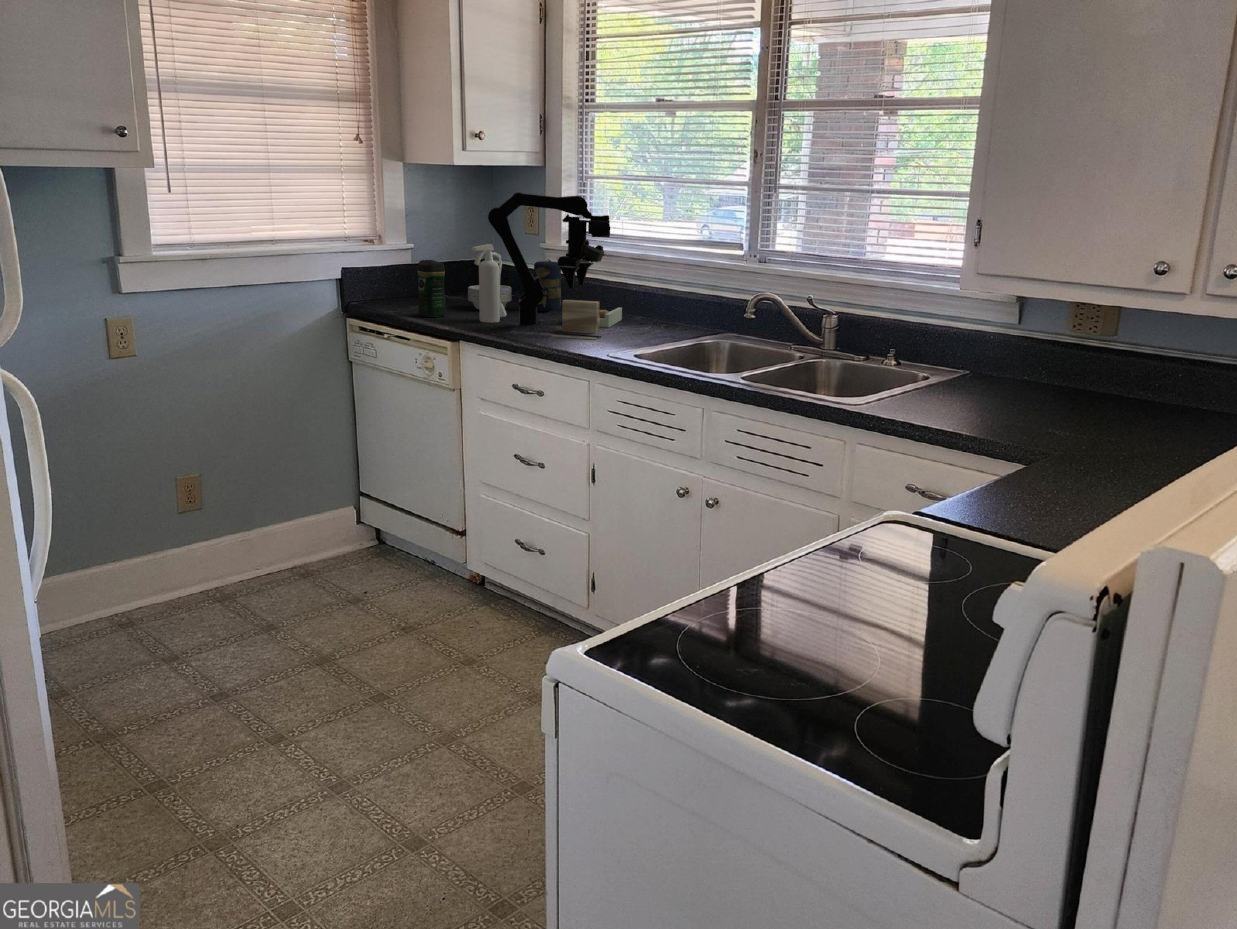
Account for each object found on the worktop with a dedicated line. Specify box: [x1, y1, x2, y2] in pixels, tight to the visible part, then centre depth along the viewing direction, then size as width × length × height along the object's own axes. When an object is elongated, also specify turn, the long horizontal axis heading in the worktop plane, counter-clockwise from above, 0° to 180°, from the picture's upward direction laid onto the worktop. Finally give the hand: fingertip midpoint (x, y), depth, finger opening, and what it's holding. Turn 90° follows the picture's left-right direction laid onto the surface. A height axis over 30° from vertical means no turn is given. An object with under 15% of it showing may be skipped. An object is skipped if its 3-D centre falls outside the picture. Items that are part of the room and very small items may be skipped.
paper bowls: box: [467, 284, 512, 311], centre depth 373 cm, size 15×15×8 cm
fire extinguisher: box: [471, 243, 507, 324], centre depth 345 cm, size 7×12×25 cm, turn 130°
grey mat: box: [551, 332, 603, 341], centre depth 328 cm, size 14×14×1 cm
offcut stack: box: [599, 309, 608, 319], centre depth 341 cm, size 4×11×4 cm, turn 75°
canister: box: [533, 258, 562, 312], centre depth 370 cm, size 10×10×18 cm
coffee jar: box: [416, 259, 447, 318], centre depth 353 cm, size 10×8×19 cm
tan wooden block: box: [561, 299, 601, 335], centre depth 326 cm, size 3×11×10 cm, turn 75°
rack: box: [599, 307, 623, 328], centre depth 345 cm, size 16×15×5 cm
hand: (576, 286), depth 338 cm, fingers open, 9 cm apart
